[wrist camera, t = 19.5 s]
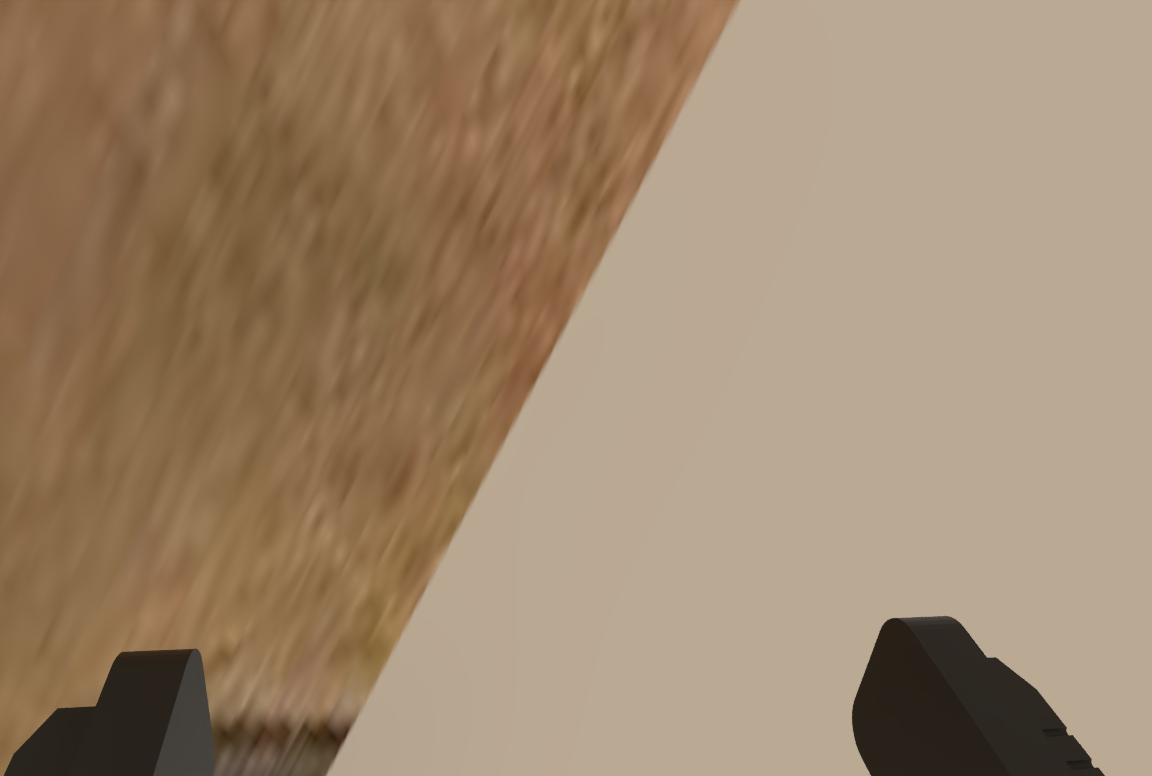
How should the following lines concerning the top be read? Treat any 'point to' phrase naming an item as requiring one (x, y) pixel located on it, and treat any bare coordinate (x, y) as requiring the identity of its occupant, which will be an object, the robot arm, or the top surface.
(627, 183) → the top surface
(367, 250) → the top surface
